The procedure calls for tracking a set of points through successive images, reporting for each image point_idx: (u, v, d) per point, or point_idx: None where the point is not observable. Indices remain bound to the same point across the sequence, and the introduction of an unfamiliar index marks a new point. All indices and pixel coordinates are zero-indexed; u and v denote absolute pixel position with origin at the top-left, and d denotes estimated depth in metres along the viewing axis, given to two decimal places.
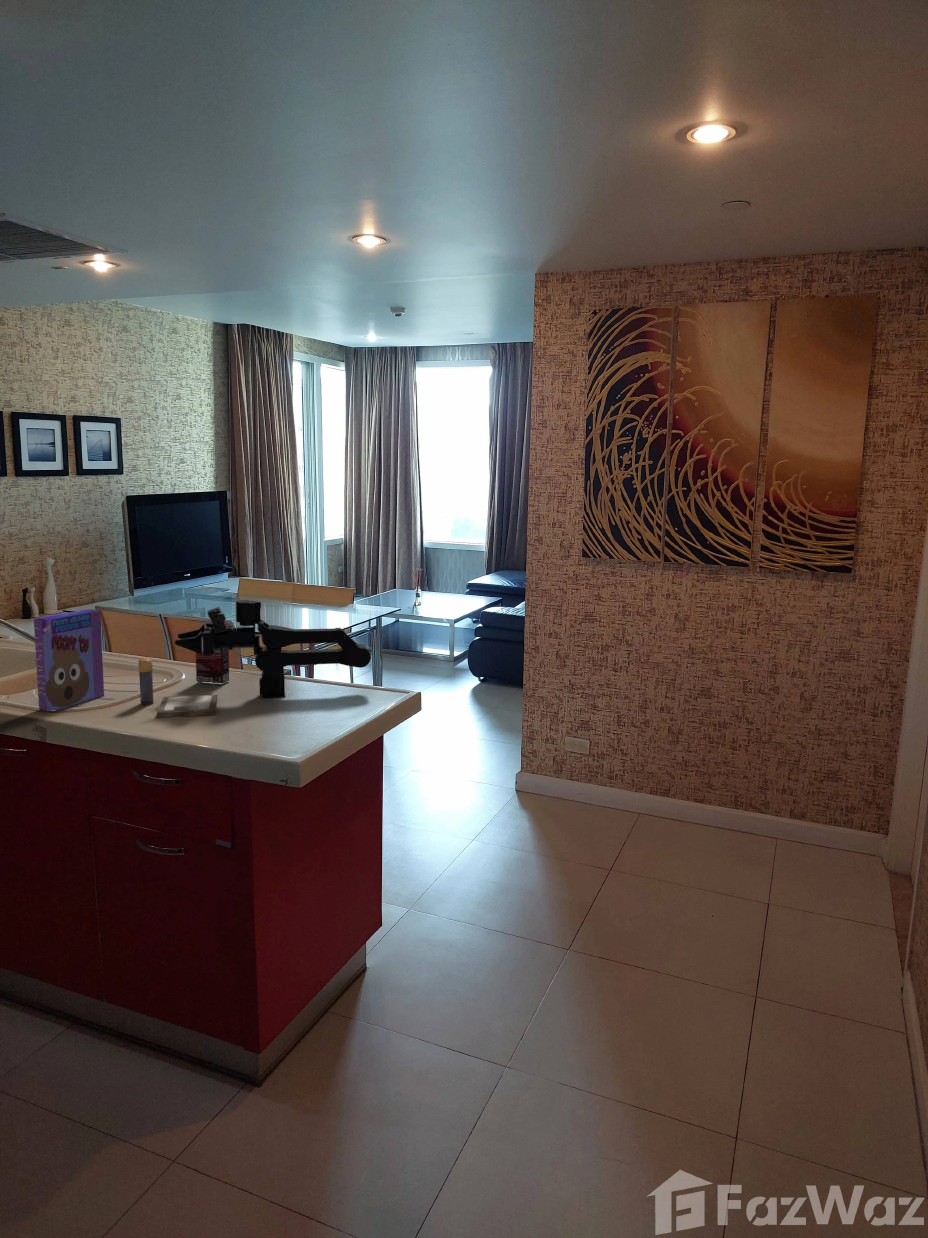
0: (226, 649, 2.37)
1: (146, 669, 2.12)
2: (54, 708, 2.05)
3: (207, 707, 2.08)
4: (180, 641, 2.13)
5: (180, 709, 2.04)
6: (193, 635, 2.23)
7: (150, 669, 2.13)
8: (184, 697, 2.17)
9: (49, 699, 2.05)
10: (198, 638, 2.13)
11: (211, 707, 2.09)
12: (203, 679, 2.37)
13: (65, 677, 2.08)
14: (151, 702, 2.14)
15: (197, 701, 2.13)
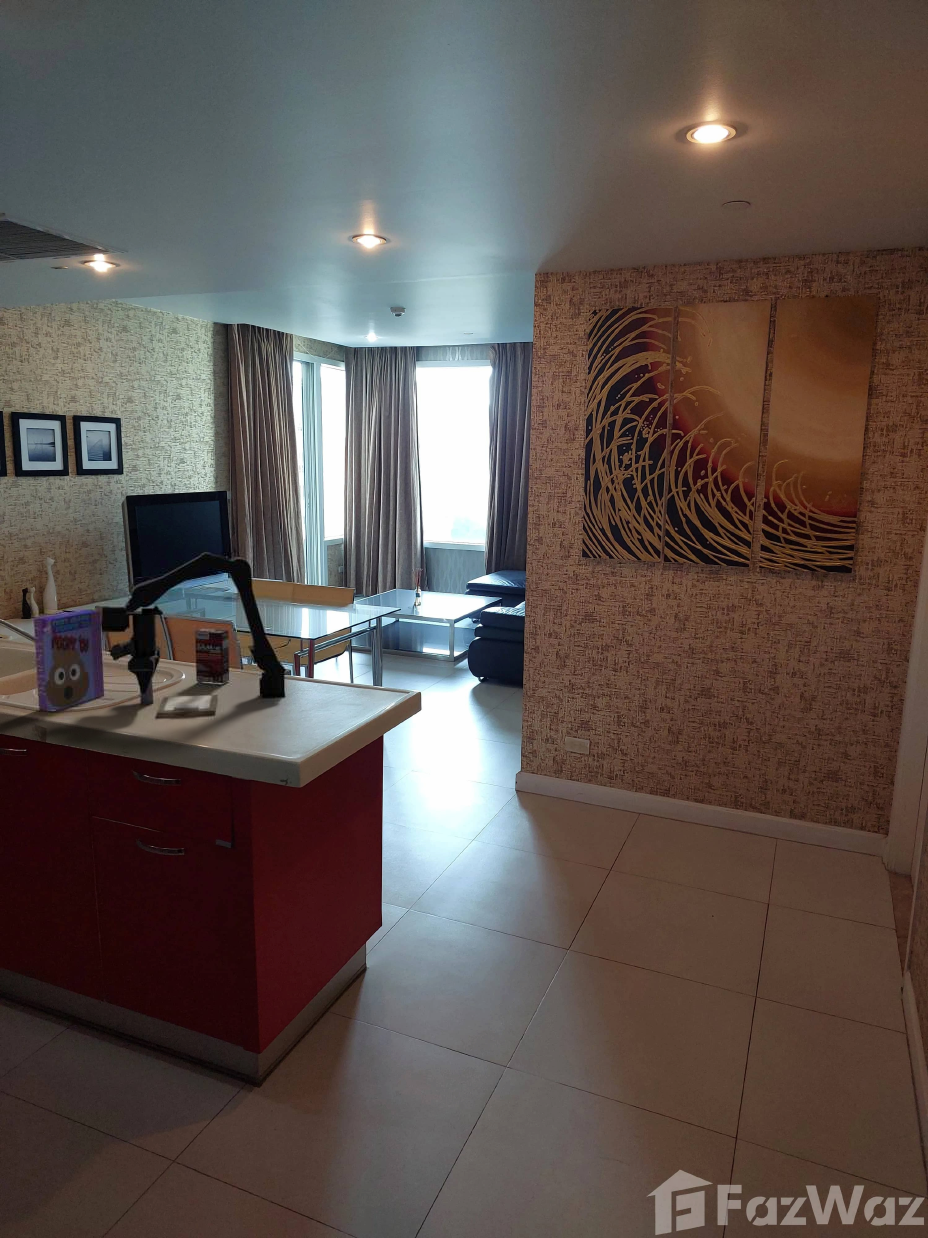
0: (226, 649, 2.37)
1: None
2: (54, 708, 2.05)
3: (207, 707, 2.08)
4: (141, 688, 2.09)
5: (180, 709, 2.04)
6: None
7: None
8: (184, 697, 2.17)
9: (49, 698, 2.05)
10: (136, 672, 2.06)
11: (211, 707, 2.09)
12: (203, 679, 2.37)
13: (65, 677, 2.08)
14: (151, 702, 2.14)
15: (197, 701, 2.13)
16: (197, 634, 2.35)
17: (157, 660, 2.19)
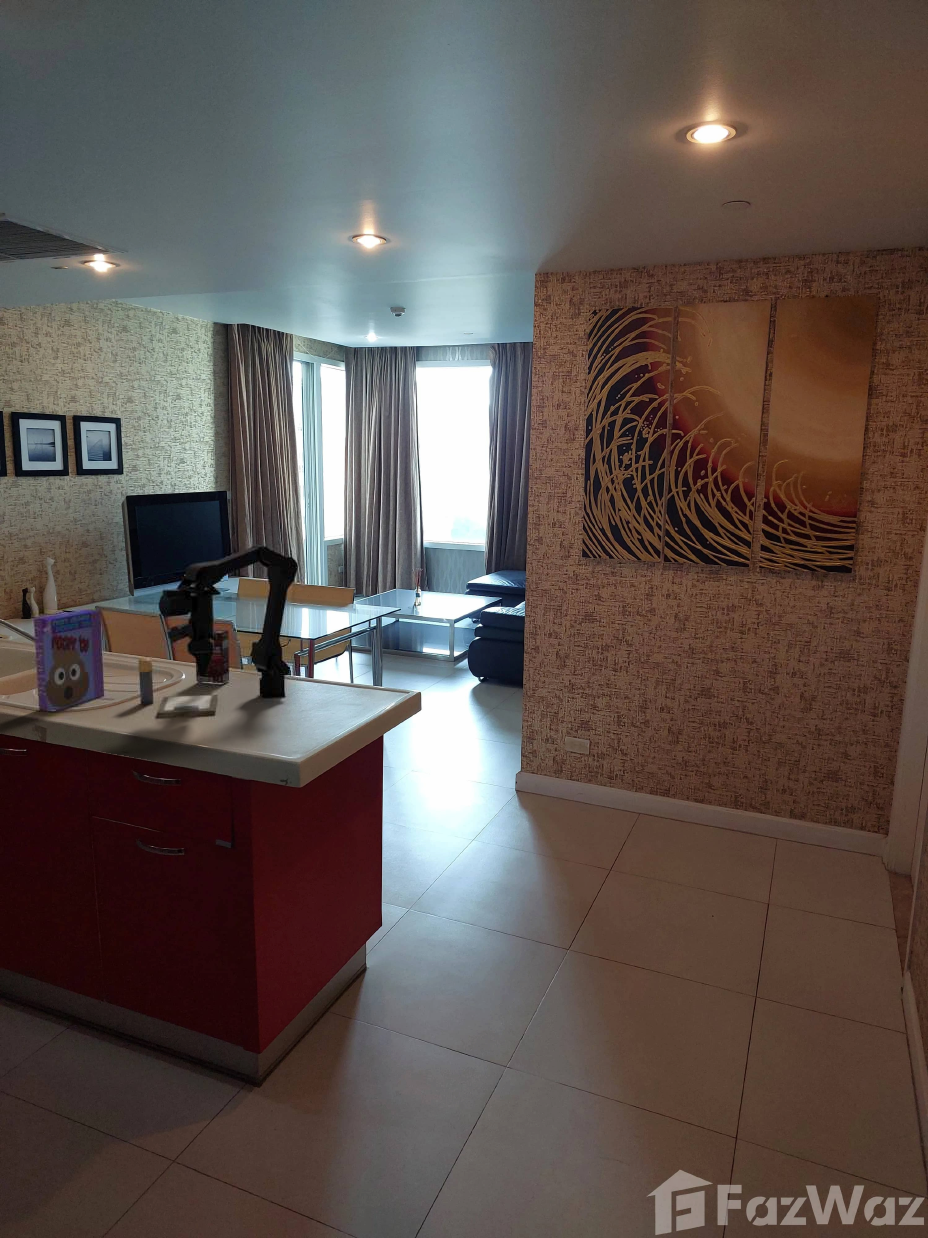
0: (226, 649, 2.37)
1: (146, 668, 2.12)
2: (54, 708, 2.05)
3: (207, 707, 2.08)
4: (200, 671, 2.04)
5: (180, 709, 2.04)
6: None
7: (150, 669, 2.13)
8: (184, 697, 2.17)
9: (49, 699, 2.05)
10: (195, 654, 2.02)
11: (211, 707, 2.09)
12: (203, 679, 2.37)
13: (65, 677, 2.08)
14: (151, 702, 2.14)
15: (197, 701, 2.13)
16: None
17: (213, 643, 2.14)
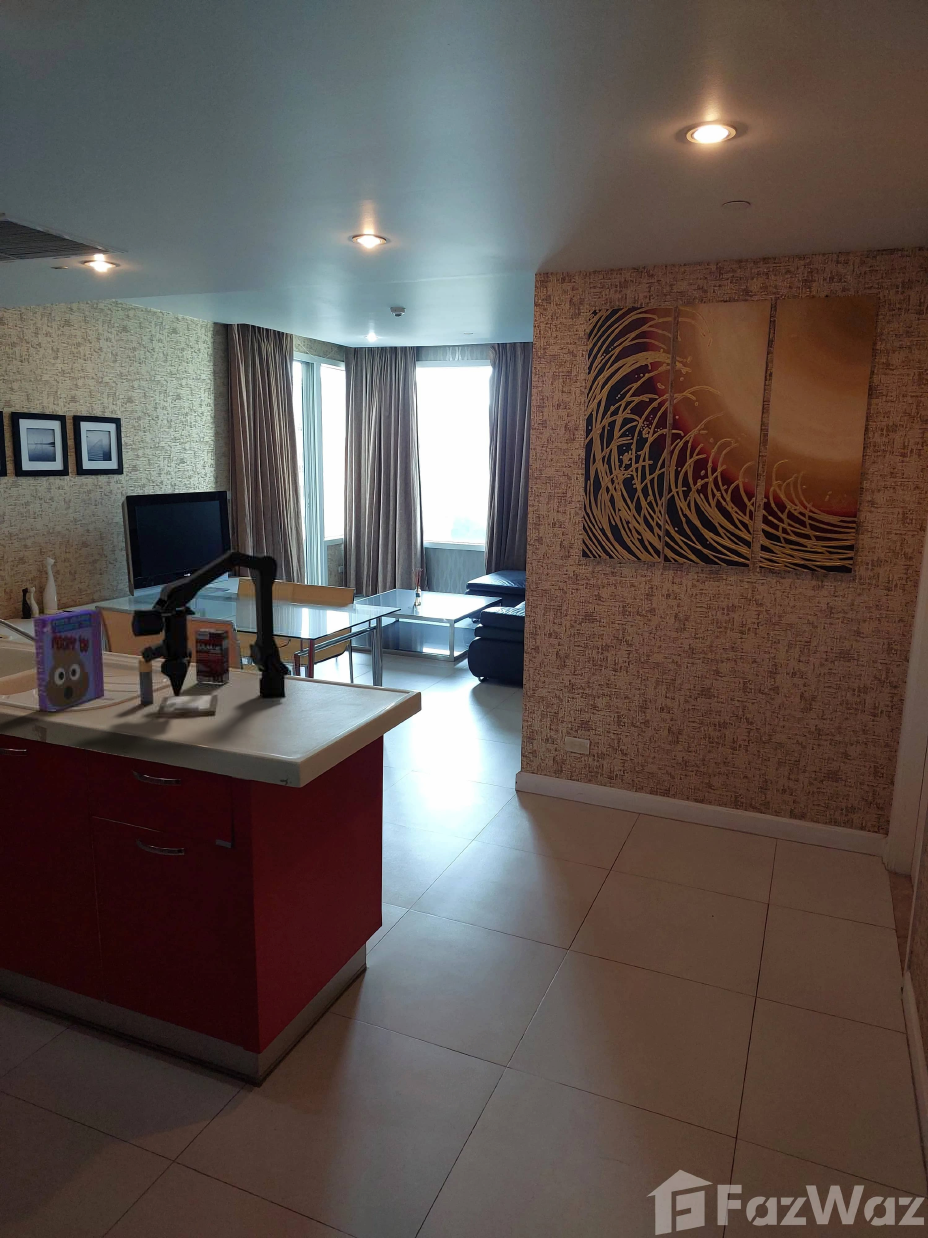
0: (226, 649, 2.37)
1: (146, 668, 2.12)
2: (54, 708, 2.05)
3: (207, 707, 2.08)
4: (174, 691, 2.05)
5: (180, 709, 2.04)
6: None
7: (150, 669, 2.13)
8: (184, 697, 2.17)
9: (49, 698, 2.05)
10: (169, 674, 2.02)
11: (211, 707, 2.09)
12: (203, 679, 2.37)
13: (65, 677, 2.08)
14: (151, 702, 2.14)
15: (197, 701, 2.13)
16: (197, 634, 2.35)
17: (188, 662, 2.14)
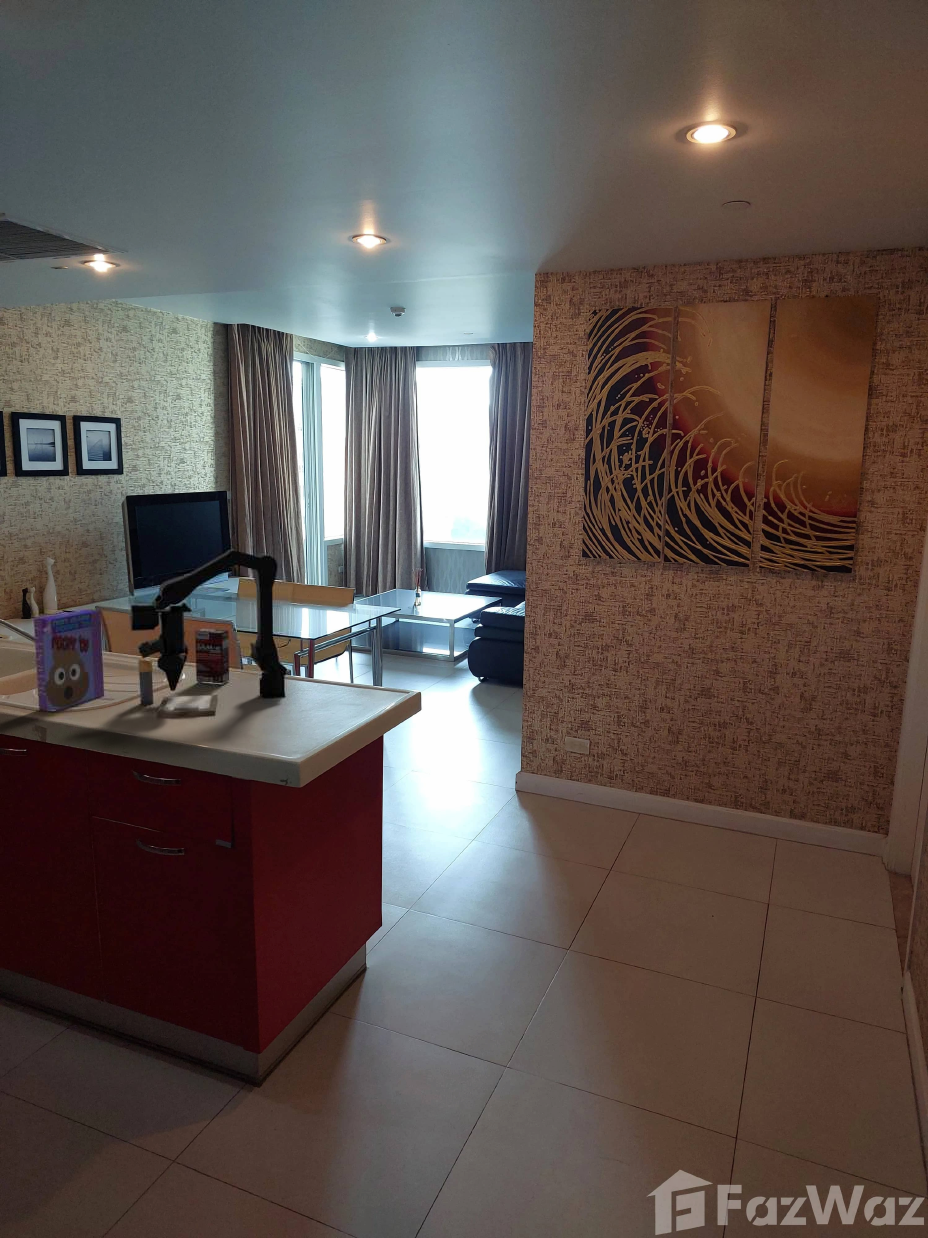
0: (226, 649, 2.37)
1: (146, 669, 2.12)
2: (54, 708, 2.05)
3: (207, 707, 2.08)
4: (171, 686, 2.09)
5: (180, 709, 2.04)
6: None
7: (150, 669, 2.12)
8: (184, 697, 2.17)
9: (49, 699, 2.05)
10: (166, 669, 2.07)
11: (211, 707, 2.09)
12: (203, 679, 2.37)
13: (65, 677, 2.08)
14: (151, 702, 2.14)
15: (197, 701, 2.13)
16: (197, 634, 2.35)
17: (185, 658, 2.18)
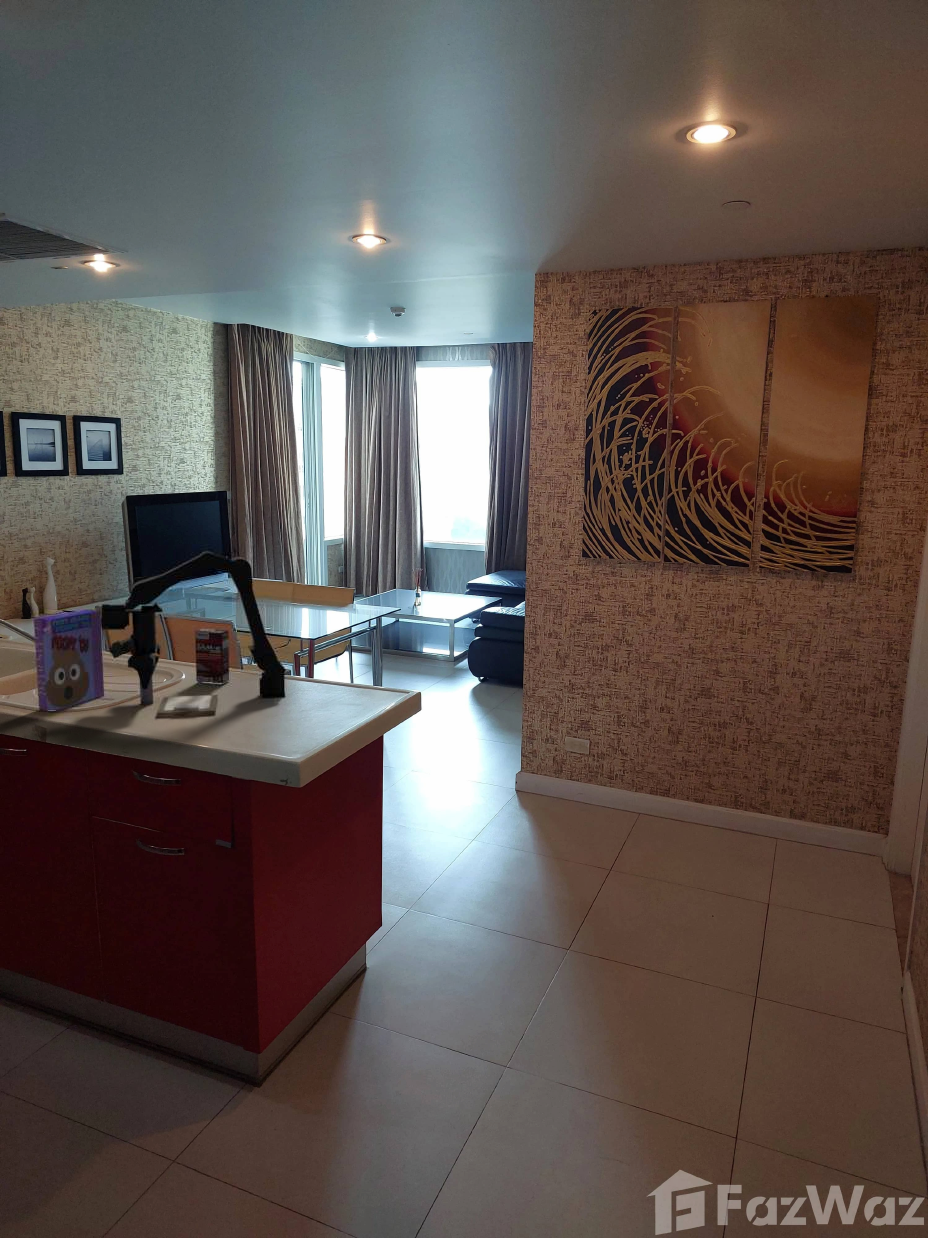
0: (226, 649, 2.37)
1: None
2: (54, 708, 2.05)
3: (207, 707, 2.08)
4: (143, 684, 2.11)
5: (180, 709, 2.04)
6: None
7: None
8: (184, 697, 2.17)
9: (49, 699, 2.05)
10: (137, 668, 2.08)
11: (211, 707, 2.09)
12: (203, 679, 2.37)
13: (65, 677, 2.08)
14: (151, 702, 2.14)
15: (197, 701, 2.13)
16: (197, 634, 2.35)
17: (156, 659, 2.16)
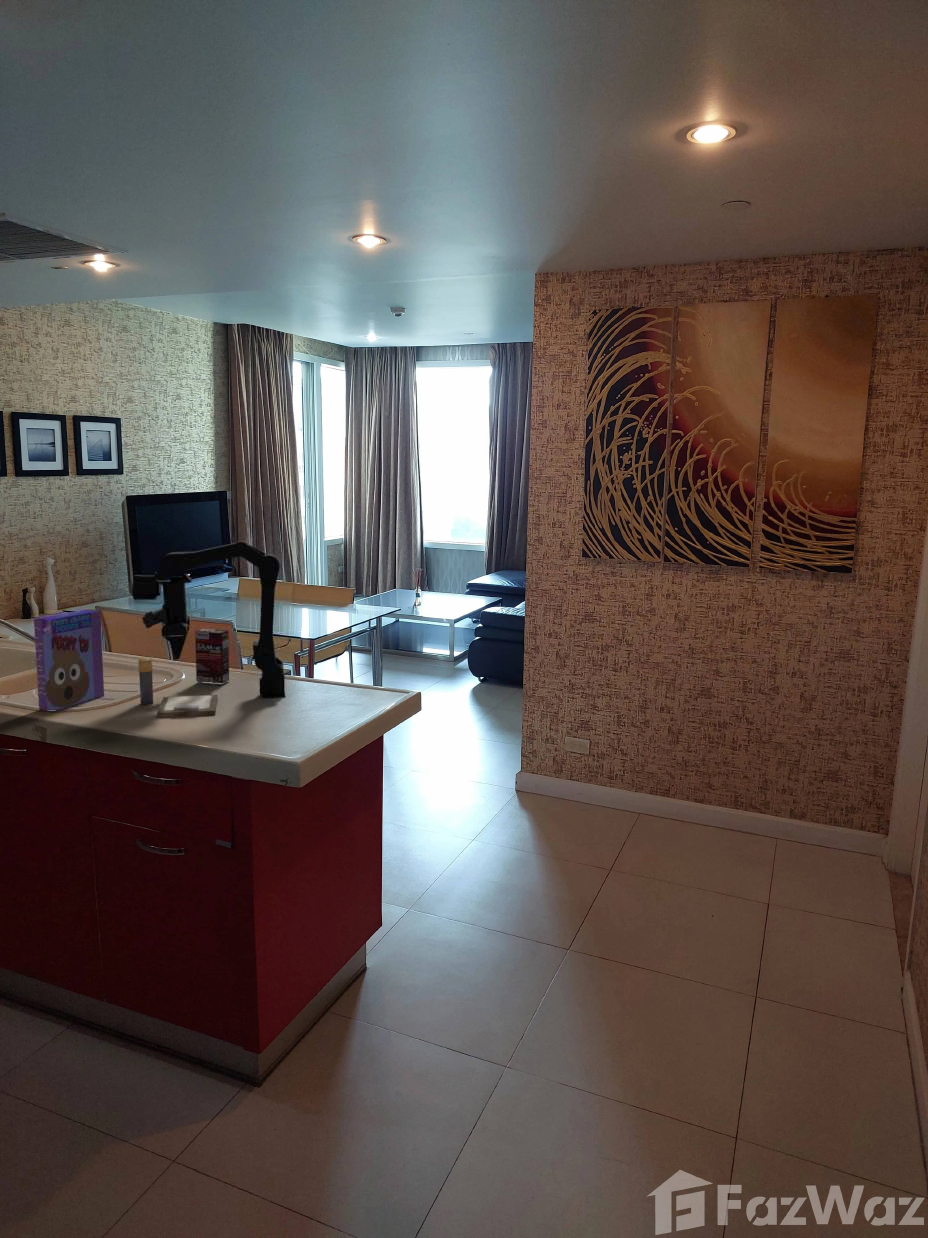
0: (226, 649, 2.37)
1: (146, 669, 2.12)
2: (54, 708, 2.05)
3: (207, 707, 2.08)
4: (175, 654, 2.14)
5: (180, 709, 2.04)
6: None
7: (150, 669, 2.13)
8: (184, 697, 2.17)
9: (49, 699, 2.05)
10: (170, 638, 2.12)
11: (211, 707, 2.09)
12: (203, 679, 2.37)
13: (65, 677, 2.08)
14: (151, 702, 2.14)
15: (197, 701, 2.13)
16: (197, 634, 2.35)
17: (187, 628, 2.24)
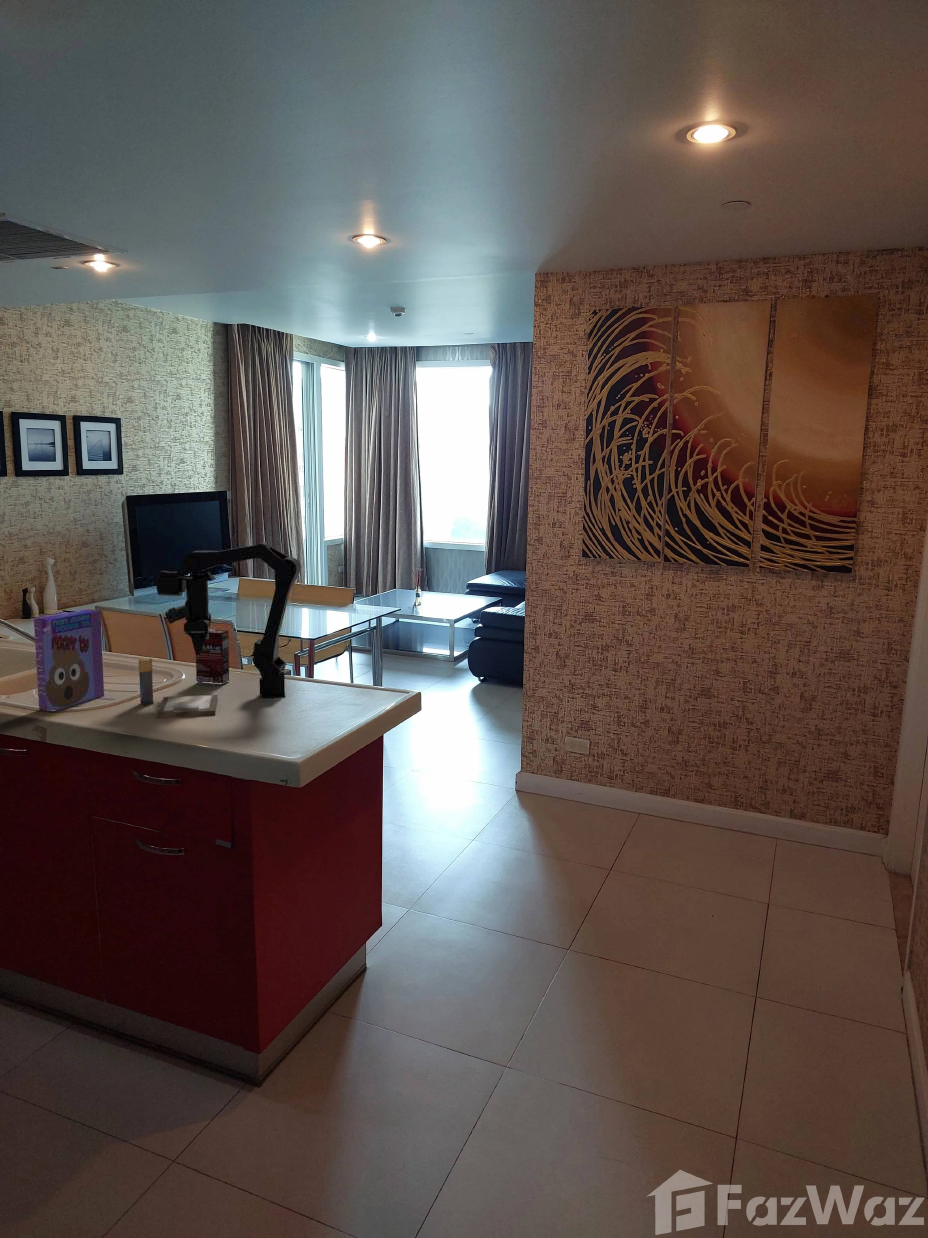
0: (226, 649, 2.37)
1: (146, 669, 2.12)
2: (54, 708, 2.05)
3: (207, 707, 2.08)
4: (196, 650, 2.19)
5: (180, 709, 2.04)
6: None
7: (150, 669, 2.12)
8: (184, 697, 2.17)
9: (49, 699, 2.05)
10: (191, 634, 2.17)
11: (211, 707, 2.09)
12: (203, 679, 2.37)
13: (65, 677, 2.08)
14: (151, 702, 2.14)
15: (197, 701, 2.13)
16: None
17: (208, 624, 2.29)
